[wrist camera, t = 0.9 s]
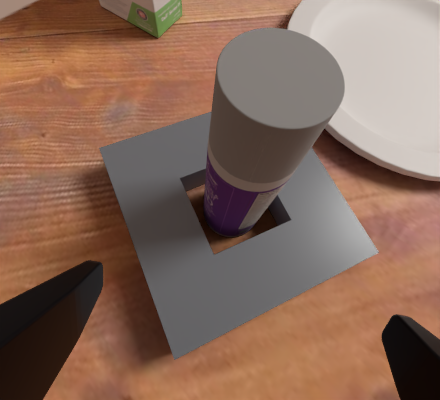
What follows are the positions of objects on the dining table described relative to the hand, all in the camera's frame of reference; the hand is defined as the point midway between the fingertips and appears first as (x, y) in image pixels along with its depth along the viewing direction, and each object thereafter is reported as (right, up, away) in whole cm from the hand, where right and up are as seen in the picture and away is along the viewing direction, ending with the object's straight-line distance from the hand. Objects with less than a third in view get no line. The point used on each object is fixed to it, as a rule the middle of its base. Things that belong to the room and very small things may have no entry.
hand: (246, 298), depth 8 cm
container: (0, +2, +15) cm, 15 cm away
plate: (+20, +17, +23) cm, 35 cm away
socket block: (0, +2, +15) cm, 15 cm away
